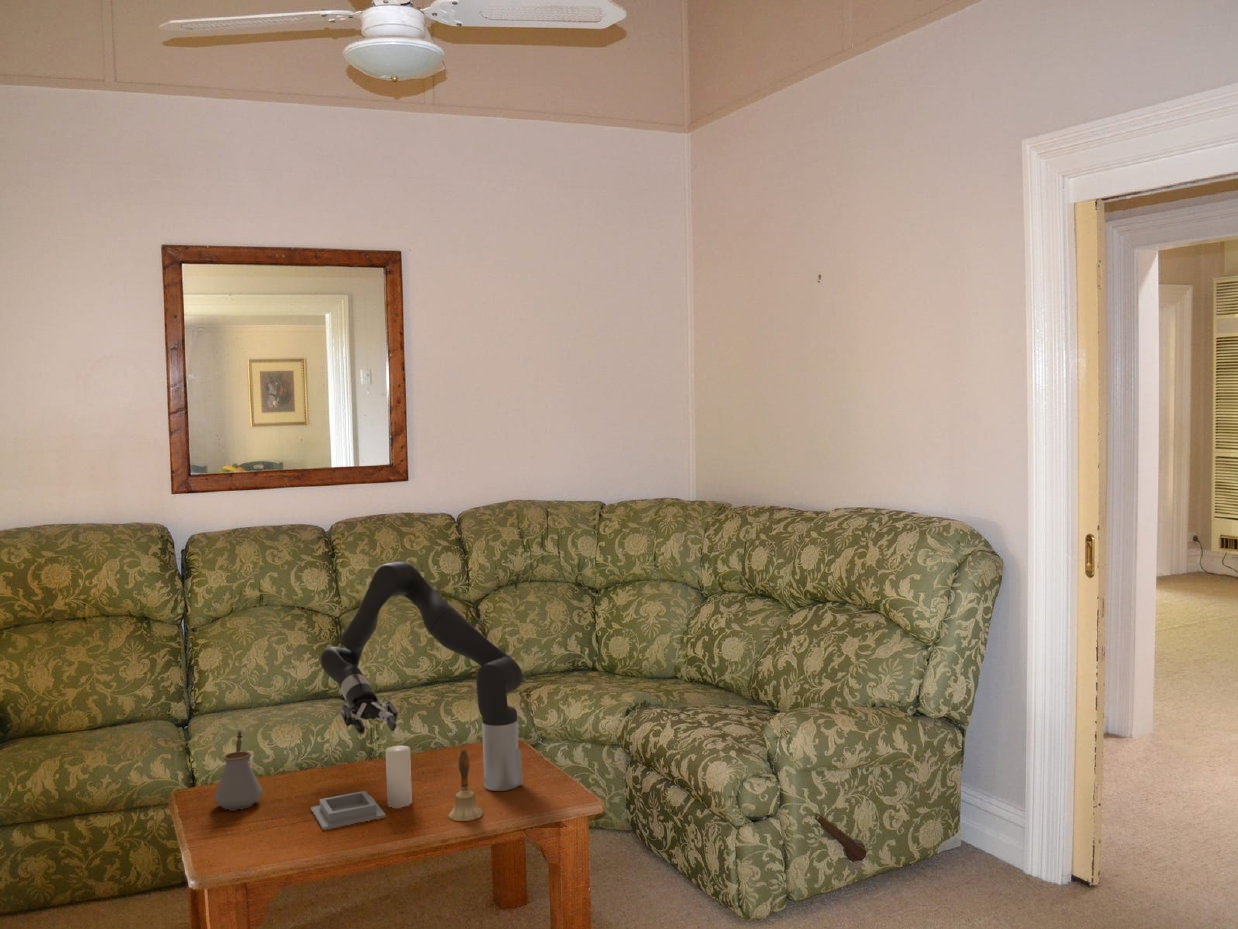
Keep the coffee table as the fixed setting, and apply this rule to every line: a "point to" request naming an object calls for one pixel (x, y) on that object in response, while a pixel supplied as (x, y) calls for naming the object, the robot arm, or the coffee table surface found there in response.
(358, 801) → the candle dish
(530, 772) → the coffee table surface
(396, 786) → the candle
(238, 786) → the coffee pot
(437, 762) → the coffee table surface
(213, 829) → the coffee table surface
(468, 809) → the hand bell
